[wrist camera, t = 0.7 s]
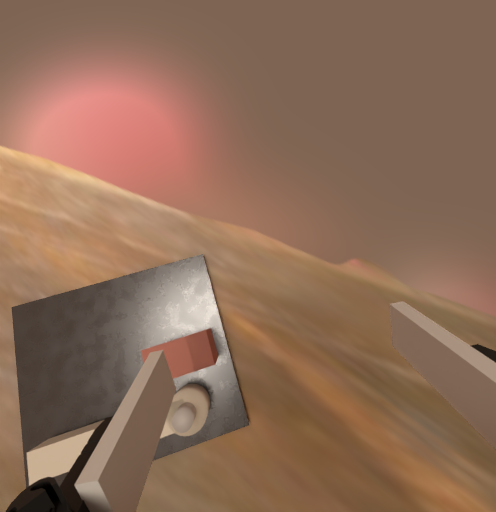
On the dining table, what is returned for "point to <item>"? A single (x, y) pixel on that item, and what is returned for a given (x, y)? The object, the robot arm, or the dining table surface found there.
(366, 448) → the dining table surface
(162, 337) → the base plate
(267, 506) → the dining table surface
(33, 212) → the dining table surface
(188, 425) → the link
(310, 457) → the dining table surface
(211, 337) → the block
